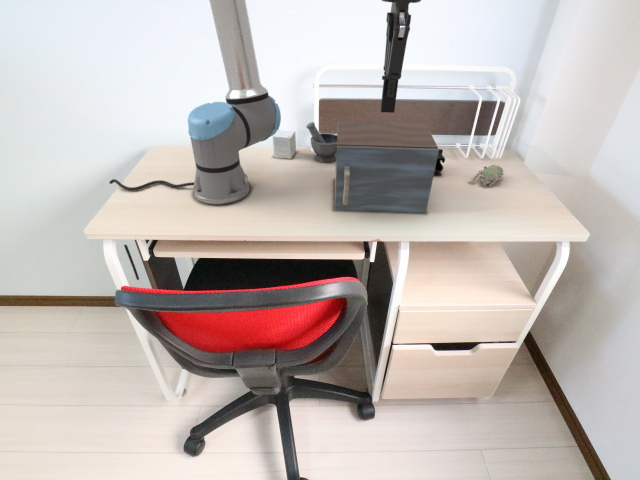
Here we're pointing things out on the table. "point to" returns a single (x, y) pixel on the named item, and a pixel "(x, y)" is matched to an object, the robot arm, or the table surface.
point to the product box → (284, 144)
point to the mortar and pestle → (323, 144)
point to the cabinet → (383, 135)
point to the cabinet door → (384, 178)
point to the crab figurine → (489, 175)
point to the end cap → (439, 163)
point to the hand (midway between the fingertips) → (387, 111)
